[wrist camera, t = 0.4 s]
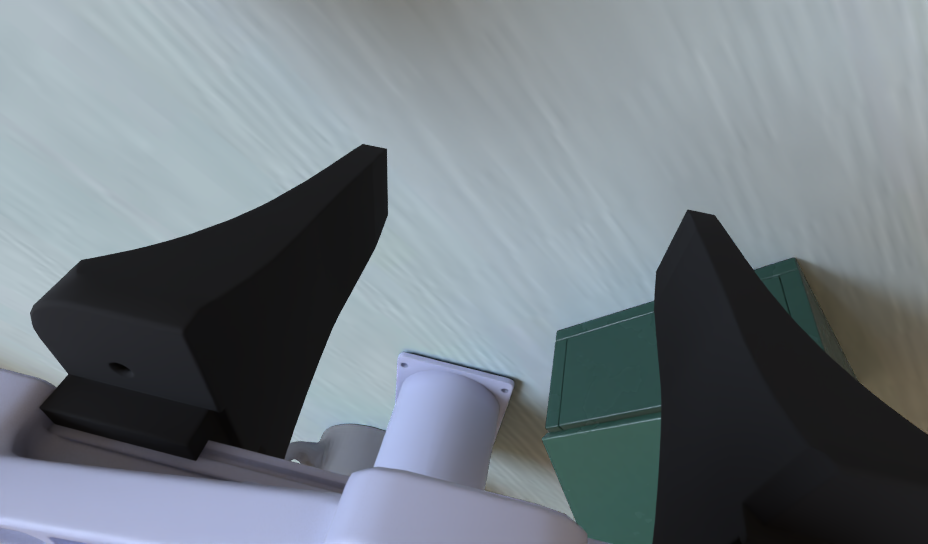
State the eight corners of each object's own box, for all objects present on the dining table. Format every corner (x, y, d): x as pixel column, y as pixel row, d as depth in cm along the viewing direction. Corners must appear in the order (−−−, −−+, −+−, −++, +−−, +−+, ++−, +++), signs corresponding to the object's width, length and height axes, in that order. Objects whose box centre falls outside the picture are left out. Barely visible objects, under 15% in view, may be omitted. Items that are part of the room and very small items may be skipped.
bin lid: (956, 662, 20) (961, 678, 19) (633, 641, 27) (629, 652, 26) (834, 378, 20) (835, 385, 19) (546, 432, 27) (540, 438, 26)
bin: (859, 384, 29) (901, 500, 25) (640, 423, 36) (642, 519, 32) (794, 256, 24) (831, 372, 20) (556, 330, 31) (544, 428, 27)
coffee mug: (448, 475, 48) (418, 598, 42) (369, 482, 54) (331, 592, 47) (352, 393, 42) (297, 523, 35) (272, 410, 47) (211, 527, 40)
